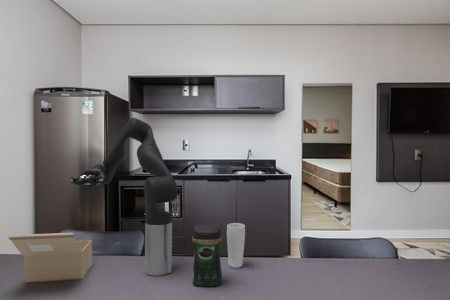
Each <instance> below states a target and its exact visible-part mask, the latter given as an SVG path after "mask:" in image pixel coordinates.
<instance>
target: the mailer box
mask: <svg viewBox="0 0 450 300" xmlns="http://www.w3.org/2000/svg"><path fill="white" fill-rule="evenodd" d="M77 241H78V244H79V246H80V248H81V250H82V254H63V255H44V256H25V257H24V269H23V270H24V275H23V276H24V284H33V283H46V282H61V281H74V280H75V281H76V280H82V279H83V278H84V277H85V276H86V274H87V272H88V271H89V269H90V268H91V266H93V240H89V239H88V240H77Z"/></svg>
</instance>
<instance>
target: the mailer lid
mask: <svg viewBox="0 0 450 300" xmlns="http://www.w3.org/2000/svg"><path fill="white" fill-rule="evenodd" d="M8 240H9V241H10V242H11V243H12V244H13V245H14V247H15V248H16V249H17V250H18V251H19V253H20V255H22V256H23V258H25V256H44V255H63V254H82V250H81V248H80V246H79V244H78V241H79V240H78V239H77V237H76V235H75V233H74V232H59V233H58V232H57V233H34V234H33V233H31V234H30V233H29V234H9V235H8Z"/></svg>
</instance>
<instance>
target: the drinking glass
mask: <svg viewBox="0 0 450 300" xmlns="http://www.w3.org/2000/svg"><path fill="white" fill-rule="evenodd" d="M226 241H227V242H226V243H227V244H226V245H227V246H226V247H227V256H228V262H227V263H228V266H229V267H231V268H234V269H236V268H237V269H238V268H241V267H243V265H244V264H243V263H244V262H243V261H244V252H245V251H244V250H245V241H246V225H245V224H243V223H241V222H240V223H239V222H231V223H228V224H227V225H226Z"/></svg>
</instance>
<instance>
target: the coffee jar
mask: <svg viewBox="0 0 450 300" xmlns="http://www.w3.org/2000/svg"><path fill="white" fill-rule="evenodd" d="M222 236H223V235H222V229H221V226H220V225H219V224H196V225H195V226H194V227H193V231H192V243H193V248H194V249H193V250H194V251H193V252H194V254H193V267H192V275H191V276H192V278H191V280H192V283H193V285H195V286H198V287H216V286H219V285H220V284H221V283H222V281H223V280H222V278H223V276H222V274H223V273H222V264H221V262H222V261H221V253H220V252H221V251H220V250H221V249H220V248H221V243H222V239H223V237H222Z"/></svg>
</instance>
